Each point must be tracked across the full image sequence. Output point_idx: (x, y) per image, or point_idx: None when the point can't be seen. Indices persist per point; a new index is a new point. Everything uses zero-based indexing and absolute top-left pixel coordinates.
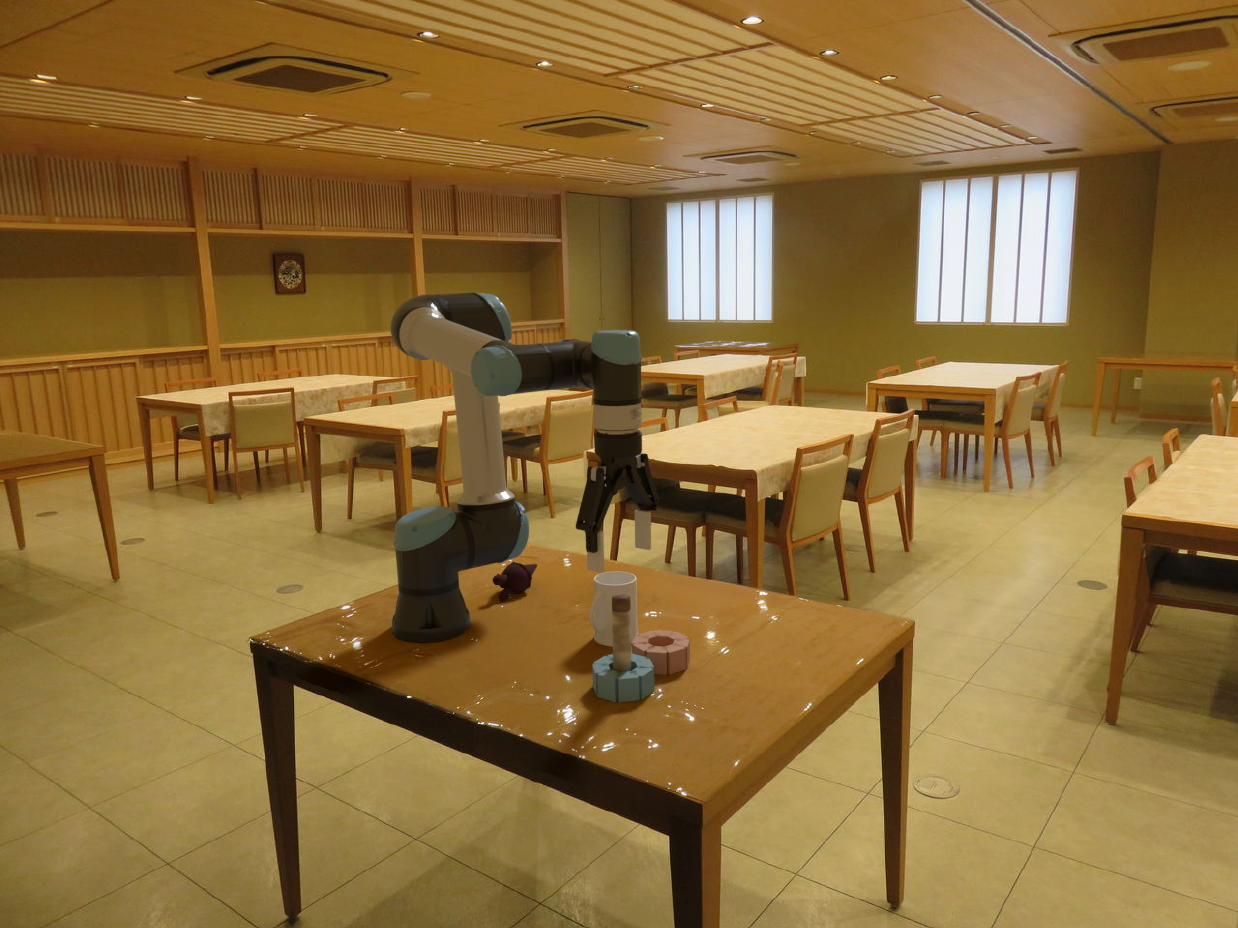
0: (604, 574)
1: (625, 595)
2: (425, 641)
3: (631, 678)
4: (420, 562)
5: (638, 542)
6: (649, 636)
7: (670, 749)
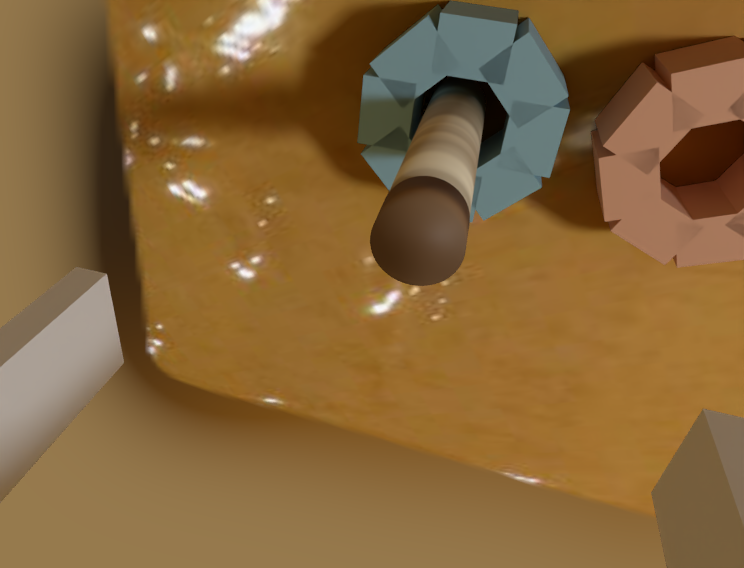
0: None
1: (452, 254)
2: None
3: (386, 185)
4: None
5: (702, 470)
6: None
7: (249, 302)
